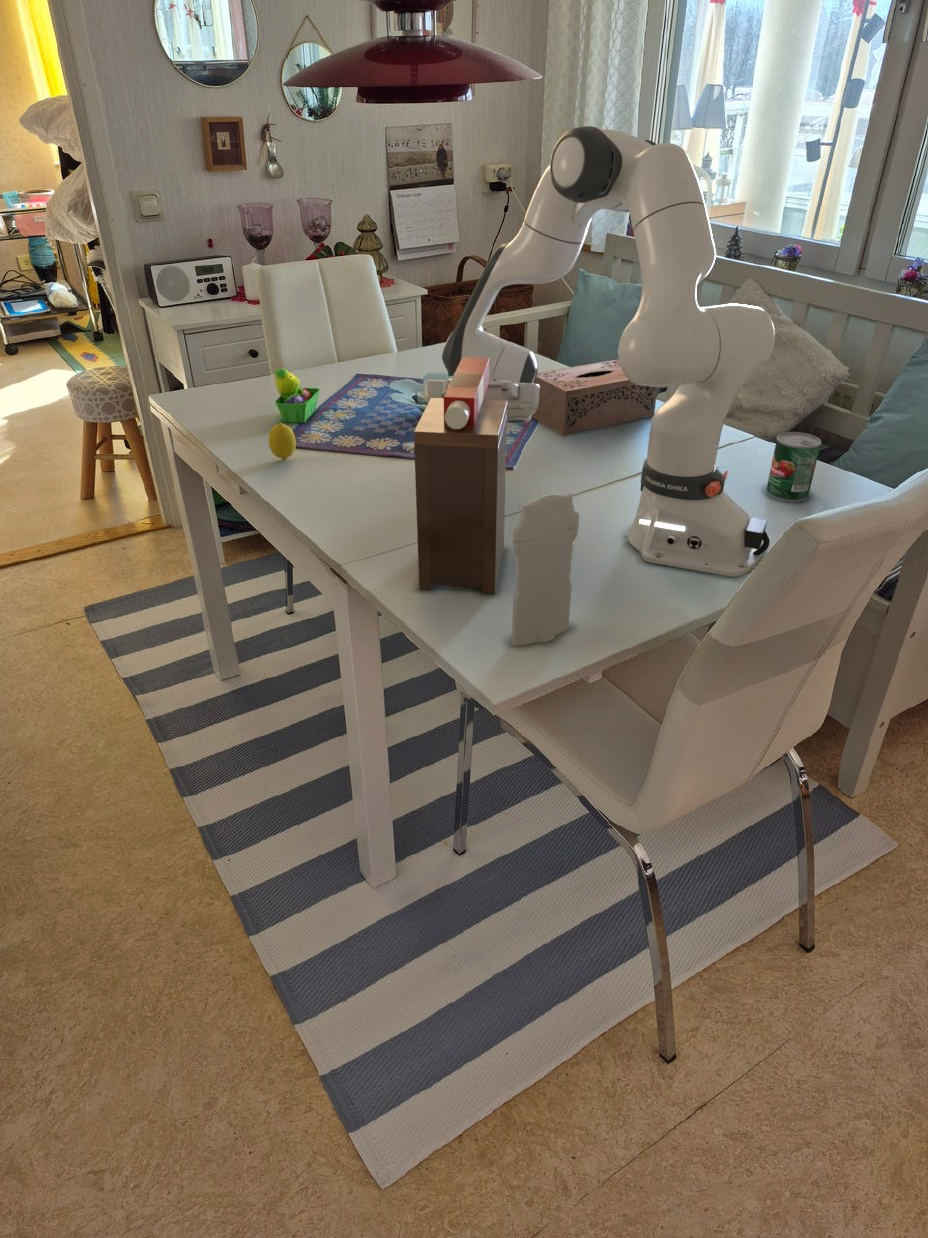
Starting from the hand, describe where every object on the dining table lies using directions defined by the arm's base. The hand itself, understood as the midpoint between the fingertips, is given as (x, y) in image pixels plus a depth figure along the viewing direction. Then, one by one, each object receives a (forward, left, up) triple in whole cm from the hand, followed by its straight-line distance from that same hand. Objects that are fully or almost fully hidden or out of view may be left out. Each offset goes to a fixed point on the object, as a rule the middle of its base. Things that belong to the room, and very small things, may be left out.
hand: (477, 384), depth 143 cm
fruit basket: (+65, -24, -25) cm, 74 cm away
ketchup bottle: (-6, +13, +1) cm, 15 cm away
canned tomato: (-45, -41, -25) cm, 66 cm away
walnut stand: (-8, +17, -25) cm, 31 cm away
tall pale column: (-28, +28, -25) cm, 47 cm away
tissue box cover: (+6, -61, -25) cm, 66 cm away
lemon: (+49, -2, -25) cm, 55 cm away
